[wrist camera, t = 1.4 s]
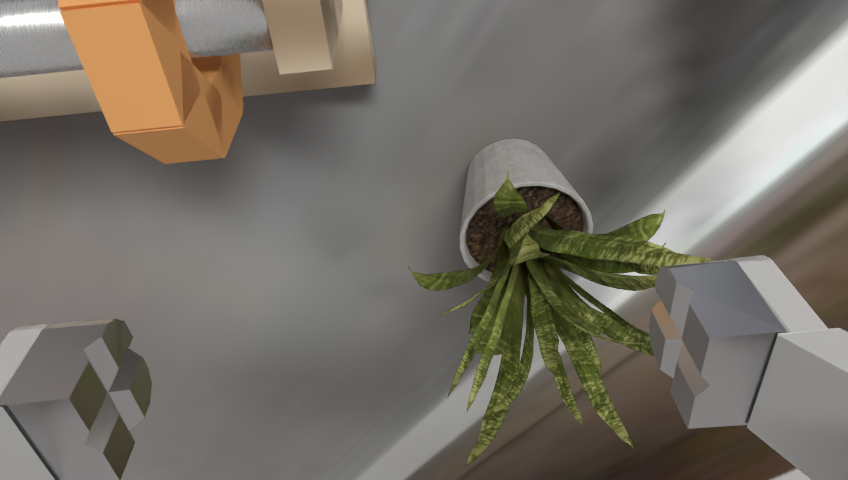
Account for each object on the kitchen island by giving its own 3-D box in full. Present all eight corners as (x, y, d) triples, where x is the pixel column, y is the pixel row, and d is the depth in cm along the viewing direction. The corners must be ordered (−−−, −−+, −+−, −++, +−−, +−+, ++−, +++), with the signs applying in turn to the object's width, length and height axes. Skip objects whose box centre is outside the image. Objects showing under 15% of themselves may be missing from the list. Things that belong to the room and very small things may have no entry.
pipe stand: (-319, -136, 27) (-590, -91, 19) (337, -206, 27) (318, -189, 19) (-141, 120, 34) (-289, 224, 27) (376, 68, 34) (373, 158, 26)
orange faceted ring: (129, -149, 25) (10, -101, 17) (190, -155, 25) (99, -111, 17) (205, 89, 31) (143, 206, 23) (254, 84, 31) (208, 199, 23)
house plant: (553, 301, 45) (620, 524, 32) (365, 253, 42) (356, 480, 29) (667, 130, 37) (818, 334, 24) (447, 52, 34) (485, 242, 21)
